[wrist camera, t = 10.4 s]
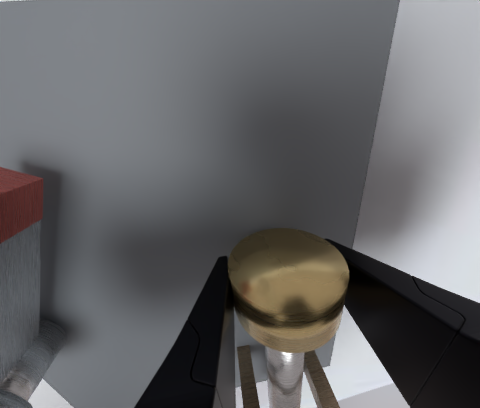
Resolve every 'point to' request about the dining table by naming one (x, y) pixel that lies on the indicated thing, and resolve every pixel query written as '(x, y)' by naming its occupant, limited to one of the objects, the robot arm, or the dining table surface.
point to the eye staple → (313, 372)
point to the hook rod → (287, 301)
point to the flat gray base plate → (179, 157)
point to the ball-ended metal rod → (22, 292)
